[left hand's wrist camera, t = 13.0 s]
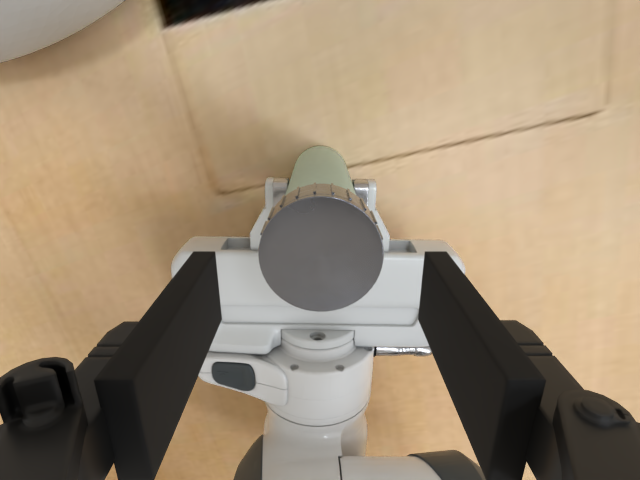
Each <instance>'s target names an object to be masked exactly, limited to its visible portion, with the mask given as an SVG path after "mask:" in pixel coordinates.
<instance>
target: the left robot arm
mask: <svg viewBox="0 0 640 480" xmlns="http://www.w3.org/2000/svg"><path fill="white" fill-rule="evenodd" d="M221 320H222V314H221V304H220V294H219V284H218V274H217V264H216V254H215V251H193V253H192V254H191V255H190V256H189V258H188V259H187V260H186V262H185V263H184V264H183V266H182V267H181V268H180V269H179V271H178V272H177V273H176V275H175V276H174V277H173V278H172V280H171V281H170V282H169V284H168V285H167V286H166V287H165V289H164V290H163V291H162V293H161V294H160V295H159V297H158V298H157V299H156V300H155V302H154V303H153V304H152V306H151V307H150V308H149V309H148V311H147V312H146V313H145V315H144V316H143V317H142V318H141V320H140V321H139V322H123V323H121V324H120V325H118V326H117V327H115V328H113V329H112V330H110V331H109V332H107V334H106V335H105V336H104V337H103V338H102V339H101V340H100V342H99V343H98V344H97V347H94V349H93V350H92V351H91V352H90V353H89V354H88V357H86V358H85V359H84V360H83V361H82V362H81V363H80V365H79V366H78V367H77V368H76V369H75V370H74V367H73V363H71V362H70V361H69V360H67V359H65V358H59V357H51V358H41V359H38V360H34V361H31V362H27V363H25V364H23V365H21V366H18V367H16V368H14V369H12V370H10V371H9V372H8V373H6V374H5V375H3V376H2V377H0V414H1V417H2V420H3V422H4V423H3V424H2V425H0V480H105V478H106V476H107V474H108V472H109V471H110V469H111V467H112V465H113V463H114V465H115V469H116V473H117V477H118V480H154V479H155V476H156V474H157V472H158V469H159V467H160V465H161V462H162V460H163V457H164V455H165V453H166V450H167V448H168V446H169V443H170V441H171V439H172V436H173V434H174V431H175V429H176V427H177V424H178V422H179V420H180V417H181V415H182V413H183V410H184V408H185V406H186V403H187V401H188V398H189V396H190V394H191V391H192V389H193V387H194V384H195V382H196V380H197V377H198V375H199V372H200V370H201V368H202V365H203V363H204V361H205V358H206V356H207V354H208V351H209V349H210V346H211V344H212V342H213V339H214V337H215V335H216V332H217V330H218V328H219V325H220V323H221ZM418 320H419V323H420V325H421V328H422V330H423V332H424V335H425V337H426V339H427V342H428V344H429V346H430V349H431V351H432V354H433V356H434V358H435V361H436V363H437V365H438V368H439V370H440V372H441V375H442V377H443V380H444V382H445V384H446V387H447V389H448V391H449V394H450V396H451V398H452V401H453V403H454V406H455V408H456V410H457V413H458V415H459V417H460V420H461V422H462V424H463V427H464V429H465V431H466V434H467V436H468V439H469V441H470V443H471V446H472V448H473V450H474V453H475V455H476V457H477V460H478V462H479V465H480V467H481V469H482V472H483V474H484V476H485V479H486V480H522V477H523V473H524V469H525V465H526V461H527V463H528V465H529V467H530V469H531V470H532V472H533V474H534V476H535V478H536V479H537V480H640V423H638V422H636V421H635V420H634V418H633V417H632V415H631V414H630V413H629V412H628V411H627V410H626V409H625V408H623V407H622V406H621V405H620V404H618V403H617V402H615V401H613V400H611V399H609V398H607V397H606V396H604V395H601V394H598V393H595V392H592V391H588V390H584V389H583V388H582V387H581V386H580V384H579V383H578V382H577V381H576V380H575V379H574V378H573V376H572V375H571V374H570V373H569V372H568V371H567V370H566V368H565V367H564V366H563V365H562V364H561V363H560V362H559V360H558V359H557V358H556V357H555V356H552V352H551V351H550V350H549V349H548V348H547V347H546V346H544V345H543V342H542V341H541V340H540V339H539V338H538V336H537V335H536V334H535V333H534V332H533V331H532V330H530V329H529V328H527V327H526V326H524V325H523V324H521V323H519V322H518V321H516V320H499V318H498V317H497V316H496V315H495V313H494V312H493V311H492V309H491V308H490V307H489V306H488V304H487V303H486V302H485V300H484V299H483V298H482V297H481V295H480V294H479V293H478V291H477V290H476V289H475V287H474V286H473V285H472V284H471V282H470V281H469V280H468V278H467V277H466V276H465V275H464V273H463V272H462V271H461V269H460V268H459V267H458V266H457V264H456V263H455V262H454V260H453V259H452V258H451V256H450V255H449V254H448V253H447V251H425V254H424V264H423V274H422V284H421V294H420V304H419V314H418Z"/></svg>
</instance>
